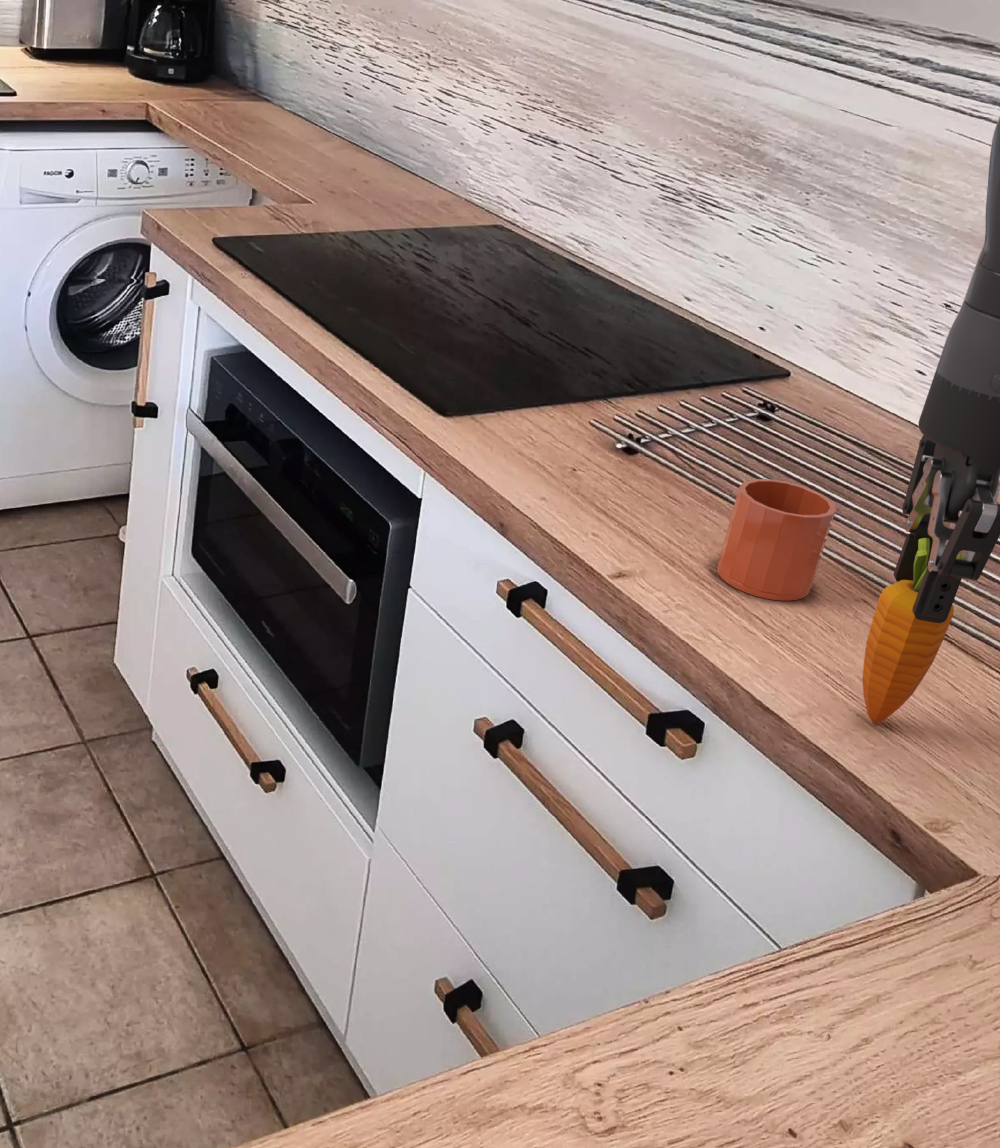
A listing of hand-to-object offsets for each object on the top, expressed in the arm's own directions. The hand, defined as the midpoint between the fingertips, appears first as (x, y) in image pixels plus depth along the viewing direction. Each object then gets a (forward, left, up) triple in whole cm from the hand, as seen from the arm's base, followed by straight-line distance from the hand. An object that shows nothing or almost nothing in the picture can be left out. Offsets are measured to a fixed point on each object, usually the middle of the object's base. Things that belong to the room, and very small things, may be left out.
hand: (917, 599), depth 108 cm
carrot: (0, 0, -11) cm, 11 cm away
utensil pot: (+5, -23, -10) cm, 26 cm away
